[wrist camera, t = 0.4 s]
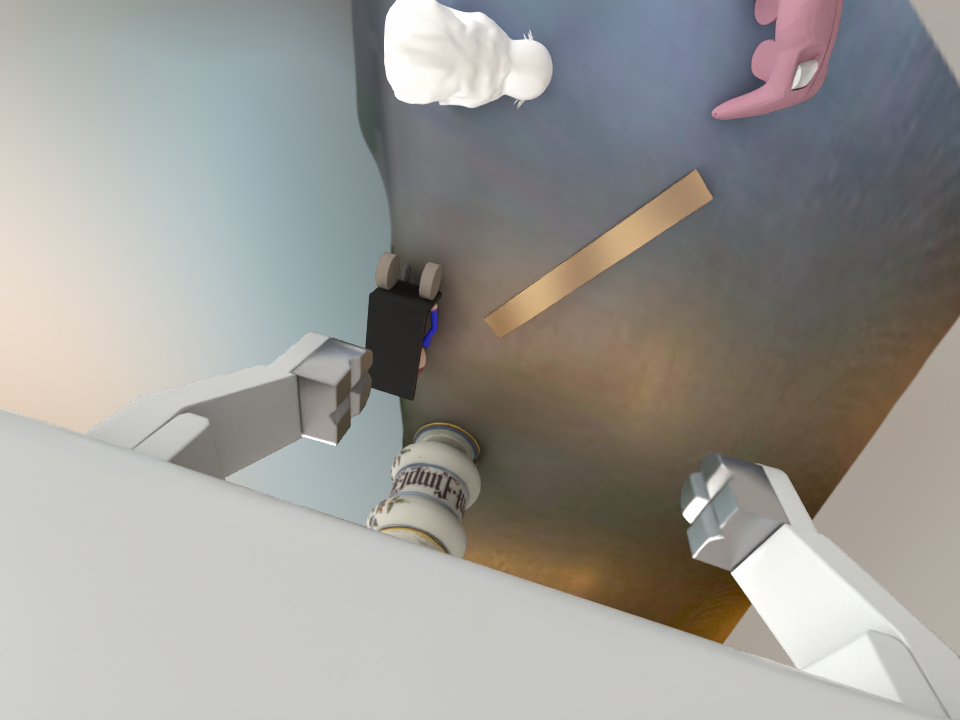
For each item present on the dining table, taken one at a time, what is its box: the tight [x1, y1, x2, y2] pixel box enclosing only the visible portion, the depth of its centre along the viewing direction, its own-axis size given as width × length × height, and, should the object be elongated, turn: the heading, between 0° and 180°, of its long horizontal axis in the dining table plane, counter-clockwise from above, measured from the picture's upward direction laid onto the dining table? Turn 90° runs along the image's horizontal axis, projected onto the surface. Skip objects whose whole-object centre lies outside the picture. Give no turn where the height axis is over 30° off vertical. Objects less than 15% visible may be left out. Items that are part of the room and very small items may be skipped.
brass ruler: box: [484, 169, 713, 338], centre depth 40 cm, size 24×3×1 cm, turn 131°
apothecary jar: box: [366, 423, 481, 558], centre depth 50 cm, size 12×12×18 cm
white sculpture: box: [384, 0, 553, 108], centre depth 30 cm, size 6×8×12 cm
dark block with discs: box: [365, 252, 442, 401], centre depth 44 cm, size 7×8×15 cm
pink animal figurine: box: [712, 0, 843, 120], centre depth 27 cm, size 10×5×7 cm, turn 15°
